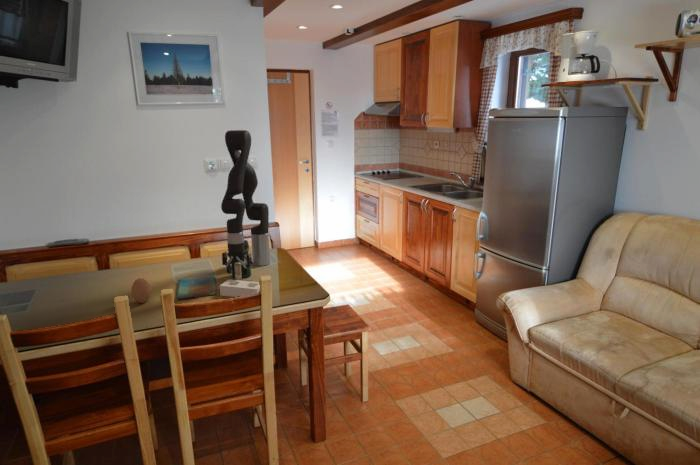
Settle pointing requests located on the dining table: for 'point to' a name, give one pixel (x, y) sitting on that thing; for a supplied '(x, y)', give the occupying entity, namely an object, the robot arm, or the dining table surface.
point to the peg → (238, 271)
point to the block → (238, 288)
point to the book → (196, 288)
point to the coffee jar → (242, 265)
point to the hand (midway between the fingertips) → (237, 274)
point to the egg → (141, 290)
